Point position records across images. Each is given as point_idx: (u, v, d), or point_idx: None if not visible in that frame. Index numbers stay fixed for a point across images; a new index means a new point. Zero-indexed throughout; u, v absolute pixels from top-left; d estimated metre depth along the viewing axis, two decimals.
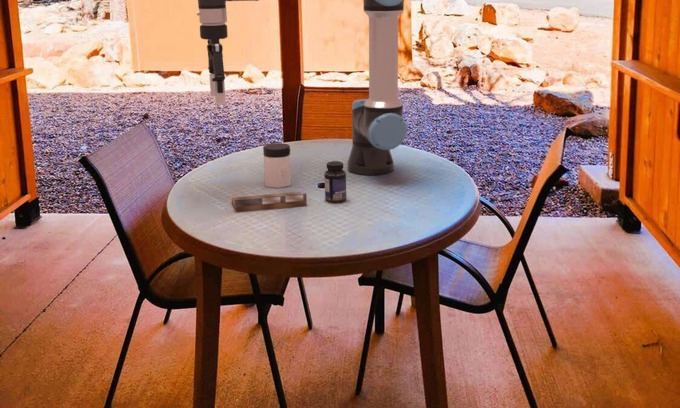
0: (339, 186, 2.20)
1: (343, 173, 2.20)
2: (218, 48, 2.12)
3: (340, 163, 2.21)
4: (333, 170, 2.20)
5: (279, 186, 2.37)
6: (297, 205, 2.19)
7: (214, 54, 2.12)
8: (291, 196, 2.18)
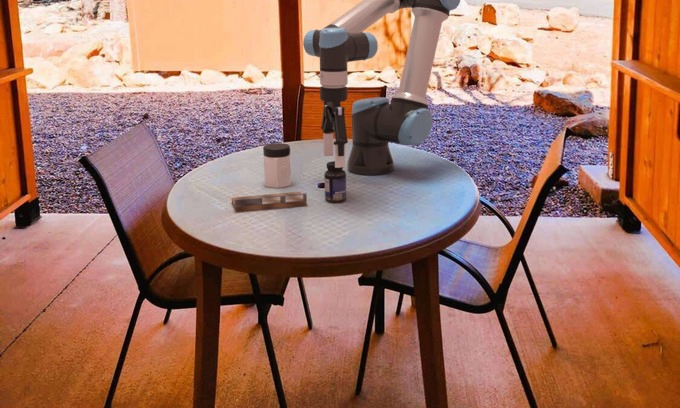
0: (339, 186, 2.20)
1: (343, 173, 2.20)
2: (341, 111, 2.10)
3: None
4: (333, 170, 2.20)
5: (279, 186, 2.37)
6: (297, 205, 2.19)
7: (336, 118, 2.09)
8: (291, 196, 2.18)
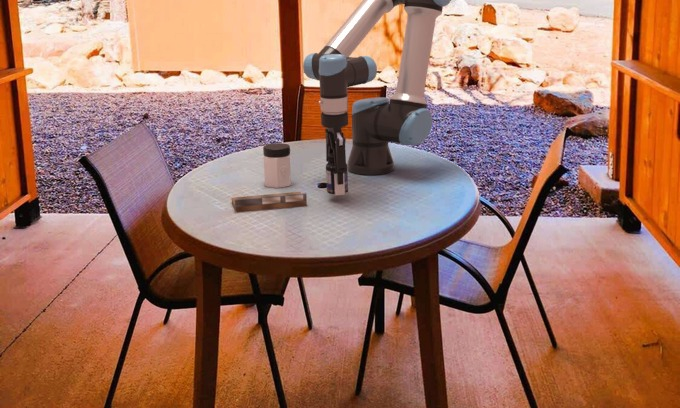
0: None
1: None
2: (342, 143, 2.13)
3: None
4: None
5: (279, 186, 2.37)
6: (297, 205, 2.19)
7: (337, 148, 2.13)
8: (291, 196, 2.18)
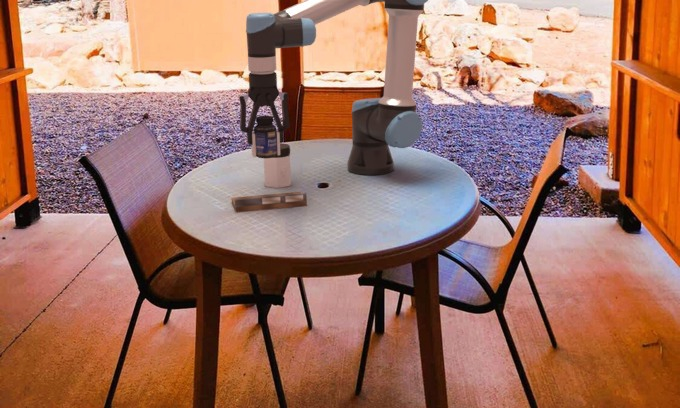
0: (255, 140, 2.16)
1: (259, 128, 2.13)
2: (240, 100, 2.12)
3: (262, 118, 2.13)
4: None
5: (279, 186, 2.37)
6: (297, 205, 2.19)
7: None
8: (291, 196, 2.18)
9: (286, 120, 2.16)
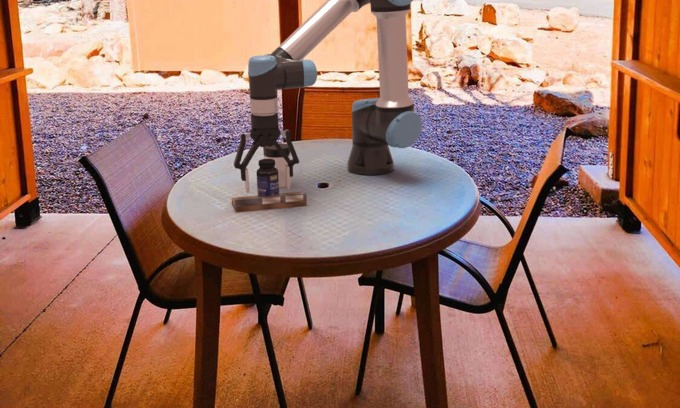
0: (257, 182, 2.20)
1: (261, 172, 2.17)
2: (240, 138, 2.15)
3: (265, 162, 2.17)
4: None
5: (279, 186, 2.37)
6: (297, 205, 2.19)
7: (240, 142, 2.16)
8: (291, 196, 2.18)
9: (294, 156, 2.19)
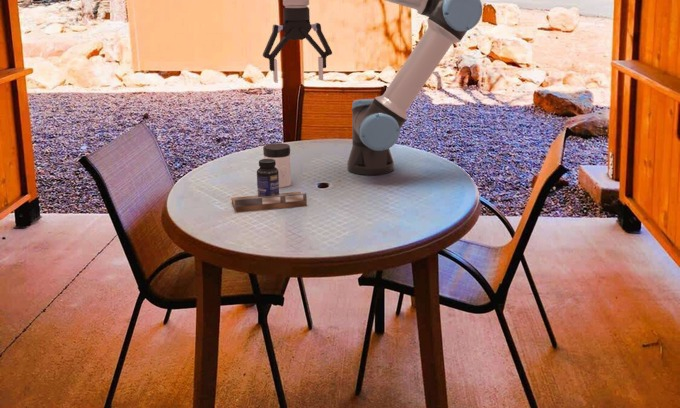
0: (257, 182, 2.20)
1: (261, 172, 2.17)
2: (273, 28, 2.24)
3: (265, 162, 2.17)
4: None
5: (279, 186, 2.37)
6: (297, 205, 2.19)
7: None
8: (291, 196, 2.18)
9: (327, 47, 2.29)
